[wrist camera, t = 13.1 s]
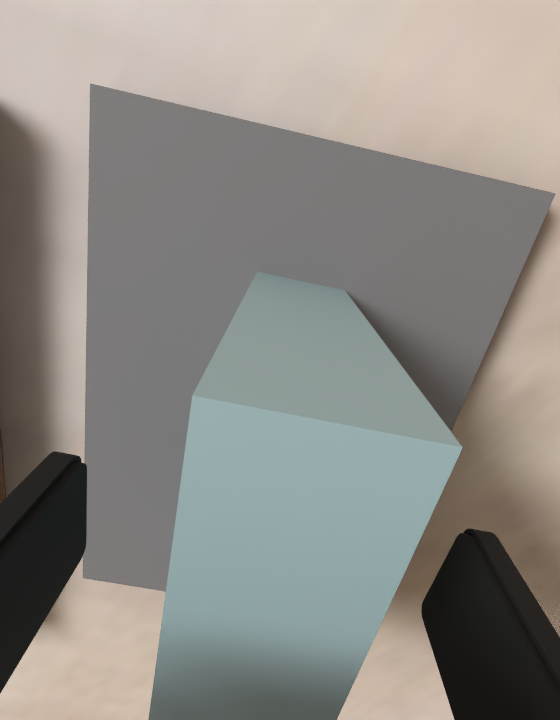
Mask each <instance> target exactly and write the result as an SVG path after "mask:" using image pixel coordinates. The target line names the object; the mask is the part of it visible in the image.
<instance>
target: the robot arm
mask: <svg viewBox="0 0 560 720" xmlns="http://www.w3.org/2000/svg"><path fill="white" fill-rule="evenodd" d="M86 535H87V465H86V464H84V463H81V458H80V456H76V455H71V454H66V453H60V452H52V453H51V454H49V455H48V456H47V457H46V458H45V459H44V460H43V461H42V462H41V463H40V464H39V465H38V466H37V467H36V468H35V469H34V470H33V471H32V472H31V473H30V474H29V475H28V476H27V477H26V478H25V479H24V480H23V481H22V483H21V484H20V485H19V486H18V487H17V488H16V489H15V490H14V491H13V492H12V493H11V494H10V495H9V496H8V497H7V498H6V499H5V500H4V501H3V502H2V503H0V693H1V691H2V690H3V688H4V686H5V685H6V683H7V681H8V680H9V678H10V676H11V675H12V673H13V671H14V670H15V668H16V666H17V665H18V663H19V661H20V660H21V658H22V657H23V655H24V653H25V652H26V650H27V648H28V647H29V645H30V643H31V642H32V640H33V638H34V637H35V635H36V633H37V632H38V630H39V628H40V627H41V625H42V623H43V622H44V620H45V618H46V617H47V615H48V613H49V612H50V610H51V608H52V607H53V605H54V603H55V602H56V600H57V598H58V597H59V595H60V593H61V592H62V590H63V588H64V587H65V585H66V584H67V582H68V580H69V579H70V577H71V575H72V574H73V572H74V570H75V569H76V567H77V565H78V564H79V562H80V560H81V558H82V556H83V554H84V551H85V548H86ZM422 618H423V622H424V625H425V628H426V631H427V634H428V637H429V640H430V644H431V647H432V650H433V653H434V656H435V659H436V663H437V666H438V669H439V672H440V675H441V678H442V681H443V685H444V688H445V691H446V694H447V697H448V700H449V704H450V707H451V710H452V713H453V716H454V719H455V720H560V637H559V636H558V634H557V632H556V631H555V629H554V628H553V626H552V624H551V623H550V621H549V620H548V618H547V616H546V615H545V613H544V612H543V610H542V608H541V607H540V605H539V604H538V602H537V600H536V599H535V597H534V596H533V594H532V592H531V591H530V589H529V587H528V586H527V584H526V583H525V581H524V579H523V578H522V576H521V575H520V573H519V571H518V570H517V568H516V567H515V565H514V563H513V562H512V560H511V559H510V557H509V555H508V554H507V552H506V551H505V549H504V547H503V546H502V544H501V543H500V541H499V539H498V538H497V537H496V535H495V534H493V533H491V532H485V531H480V530H474V529H467V530H465V532H464V533H463V534H462V533H461V534H459V535H458V536H457V538H456V540H455V542H454V544H453V546H452V547H451V549H450V551H449V553H448V555H447V557H446V559H445V561H444V563H443V565H442V566H441V568H440V570H439V572H438V574H437V576H436V578H435V580H434V582H433V583H432V585H431V587H430V589H429V591H428V593H427V595H426V597H425V599H424V601H423V603H422Z"/></svg>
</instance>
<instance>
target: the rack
mask: <svg viewBox="0 0 560 720" xmlns="http://www.w3.org/2000/svg"><path fill="white" fill-rule="evenodd" d="M5 499H6V496H5V484H4V472H3V460H2V448H1V436H0V503H2V502H3V501H4V500H5Z"/></svg>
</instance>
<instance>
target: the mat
mask: <svg viewBox="0 0 560 720" xmlns="http://www.w3.org/2000/svg"><path fill="white" fill-rule="evenodd" d="M554 196H555V193H551V192H546V191H542V190H538V189H534V188H530V187H525V186H521V185H517V184H513V183H508V182H504V181H500V180H496V179H492V178H487V177H483V176H479V175H475V174H470V173H466V172H462V171H458V170H453V169H449V168H445V167H441V166H437V165H432V164H428V163H424V162H420V161H415V160H411V159H407V158H403V157H398V156H394V155H390V154H386V153H382V152H377V151H373V150H369V149H365V148H360V147H356V146H352V145H348V144H344V143H339V142H335V141H331V140H327V139H322V138H318V137H314V136H310V135H305V134H301V133H297V132H293V131H289V130H284V129H280V128H276V127H272V126H267V125H263V124H259V123H255V122H250V121H246V120H242V119H238V118H234V117H229V116H225V115H221V114H217V113H212V112H208V111H204V110H200V109H196V108H191V107H187V106H183V105H179V104H174V103H170V102H166V101H162V100H157V99H153V98H149V97H145V96H141V95H136V94H132V93H128V92H124V91H119V90H115V89H111V88H107V87H103V86H98V85H94V84H90V134H89V201H88V267H87V333H86V400H85V464H86V465H87V535H86V548H85V551H84V554H83V578H86V579H92V580H98V581H105V582H111V583H117V584H123V585H129V586H136V587H142V588H148V589H154V590H161V591H166V587H167V579H168V572H169V565H170V557H171V550H172V542H173V535H174V528H175V520H176V513H177V505H178V498H179V490H180V483H181V476H182V468H183V461H184V453H185V446H186V439H187V431H188V424H189V416H190V409H191V401H192V395H193V393H194V391H195V389H196V388H197V386H198V384H199V382H200V380H201V378H202V376H203V374H204V372H205V370H206V368H207V367H208V365H209V363H210V361H211V359H212V357H213V355H214V353H215V351H216V349H217V347H218V346H219V344H220V342H221V340H222V338H223V336H224V334H225V332H226V330H227V328H228V326H229V324H230V323H231V321H232V319H233V317H234V315H235V313H236V311H237V309H238V307H239V305H240V303H241V302H242V300H243V298H244V296H245V294H246V292H247V290H248V288H249V286H250V284H251V282H252V281H253V279H254V277H255V275H256V273H257V272H261V273H266V274H271V275H275V276H280V277H285V278H289V279H294V280H299V281H303V282H308V283H313V284H317V285H322V286H327V287H331V288H336V289H341V290H345V291H346V292H347V294H348V295H349V296H350V298H351V299H352V300H353V302H354V303H355V304H356V306H357V307H358V308H359V310H360V311H361V312H362V314H363V315H364V316H365V318H366V319H367V320H368V322H369V323H370V324H371V326H372V327H373V328H374V330H375V331H376V332H377V334H378V335H379V336H380V338H381V339H382V340H383V342H384V343H385V344H386V346H387V347H388V348H389V350H390V351H391V352H392V354H393V355H394V356H395V358H396V359H397V360H398V362H399V363H400V364H401V366H402V367H403V368H404V370H405V371H406V372H407V374H408V375H409V376H410V378H411V379H412V380H413V382H414V383H415V384H416V386H417V387H418V388H419V390H420V391H421V392H422V394H423V395H424V396H425V398H426V399H427V400H428V402H429V403H430V404H431V406H432V407H433V408H434V410H435V411H436V412H437V414H438V415H439V416H440V418H441V419H442V420H443V422H444V423H445V424H446V426H447V427H448V428H449V430H450V431H451V430H452V427H453V425H454V423H455V421H456V418H457V416H458V414H459V412H460V409H461V407H462V405H463V402H464V400H465V398H466V396H467V393H468V391H469V389H470V387H471V384H472V382H473V380H474V377H475V375H476V373H477V371H478V368H479V366H480V364H481V362H482V359H483V357H484V355H485V353H486V350H487V348H488V346H489V343H490V341H491V339H492V337H493V334H494V332H495V330H496V328H497V325H498V323H499V321H500V318H501V316H502V314H503V312H504V309H505V307H506V305H507V303H508V300H509V298H510V296H511V293H512V291H513V289H514V287H515V284H516V282H517V280H518V278H519V275H520V273H521V271H522V268H523V266H524V264H525V262H526V259H527V257H528V255H529V253H530V250H531V248H532V246H533V244H534V241H535V239H536V237H537V234H538V232H539V230H540V228H541V225H542V223H543V221H544V219H545V216H546V214H547V212H548V209H549V207H550V205H551V203H552V200H553V198H554Z"/></svg>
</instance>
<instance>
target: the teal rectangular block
mask: <svg viewBox="0 0 560 720" xmlns="http://www.w3.org/2000/svg"><path fill="white" fill-rule="evenodd" d="M462 448H463V447H462V446H461V444H460V443H459V442H458V440H457V439H456V438H455V436H454V435H453V434H452V432H451V431H450V430H449V428H448V427H447V426H446V424H445V423H444V422H443V420H442V419H441V418H440V416H439V415H438V414H437V412H436V411H435V410H434V408H433V407H432V406H431V404H430V403H429V402H428V400H427V399H426V398H425V396H424V395H423V394H422V392H421V391H420V390H419V388H418V387H417V386H416V384H415V383H414V382H413V380H412V379H411V378H410V376H409V375H408V374H407V372H406V371H405V370H404V368H403V367H402V366H401V364H400V363H399V362H398V360H397V359H396V358H395V356H394V355H393V354H392V352H391V351H390V350H389V348H388V347H387V346H386V344H385V343H384V342H383V340H382V339H381V338H380V336H379V335H378V334H377V332H376V331H375V330H374V328H373V327H372V326H371V324H370V323H369V322H368V320H367V319H366V318H365V316H364V315H363V314H362V312H361V311H360V310H359V308H358V307H357V306H356V304H355V303H354V302H353V300H352V299H351V298H350V296H349V295H348V294H347V292H346V291H345V290H341V289H336V288H331V287H327V286H322V285H317V284H313V283H308V282H303V281H299V280H294V279H289V278H285V277H280V276H275V275H271V274H266V273H261V272H257V273H256V275H255V277H254V279H253V281H252V282H251V284H250V286H249V288H248V290H247V292H246V294H245V296H244V298H243V300H242V302H241V303H240V305H239V307H238V309H237V311H236V313H235V315H234V317H233V319H232V321H231V323H230V324H229V326H228V328H227V330H226V332H225V334H224V336H223V338H222V340H221V342H220V344H219V346H218V347H217V349H216V351H215V353H214V355H213V357H212V359H211V361H210V363H209V365H208V367H207V368H206V370H205V372H204V374H203V376H202V378H201V380H200V382H199V384H198V386H197V388H196V389H195V391H194V393H193V395H192V401H191V409H190V416H189V424H188V431H187V439H186V446H185V453H184V461H183V468H182V476H181V483H180V490H179V498H178V505H177V513H176V520H175V528H174V535H173V542H172V550H171V557H170V565H169V572H168V579H167V587H166V594H165V602H164V609H163V617H162V624H161V631H160V639H159V646H158V654H157V661H156V668H155V676H154V683H153V691H152V698H151V706H150V713H149V720H337V718H338V716H339V713H340V711H341V709H342V707H343V705H344V703H345V700H346V698H347V696H348V694H349V692H350V690H351V688H352V685H353V683H354V681H355V679H356V677H357V675H358V672H359V670H360V668H361V666H362V664H363V662H364V660H365V657H366V655H367V653H368V651H369V649H370V647H371V644H372V642H373V640H374V638H375V636H376V634H377V632H378V629H379V627H380V625H381V623H382V621H383V619H384V616H385V614H386V612H387V610H388V608H389V606H390V603H391V601H392V599H393V597H394V595H395V593H396V591H397V588H398V586H399V584H400V582H401V580H402V578H403V575H404V573H405V571H406V569H407V567H408V565H409V563H410V560H411V558H412V556H413V554H414V552H415V550H416V547H417V545H418V543H419V541H420V539H421V537H422V535H423V532H424V530H425V528H426V526H427V524H428V522H429V519H430V517H431V515H432V513H433V511H434V509H435V506H436V504H437V502H438V500H439V498H440V496H441V494H442V491H443V489H444V487H445V485H446V483H447V481H448V478H449V476H450V474H451V472H452V470H453V468H454V466H455V463H456V461H457V459H458V457H459V455H460V453H461V450H462Z"/></svg>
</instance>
